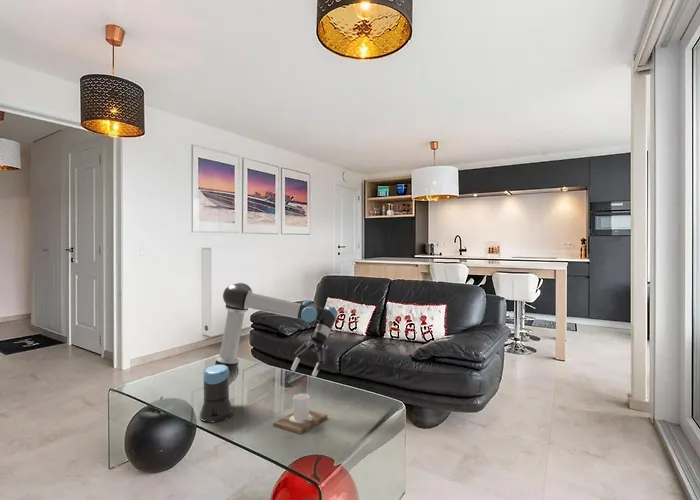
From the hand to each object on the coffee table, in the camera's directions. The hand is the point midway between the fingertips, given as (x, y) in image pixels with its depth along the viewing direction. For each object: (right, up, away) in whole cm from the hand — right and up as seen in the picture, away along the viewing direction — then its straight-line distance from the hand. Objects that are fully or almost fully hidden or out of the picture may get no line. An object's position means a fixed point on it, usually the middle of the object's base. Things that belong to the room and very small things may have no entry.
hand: (302, 373), depth 187 cm
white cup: (0, -19, -8) cm, 20 cm away
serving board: (0, -20, -8) cm, 22 cm away
